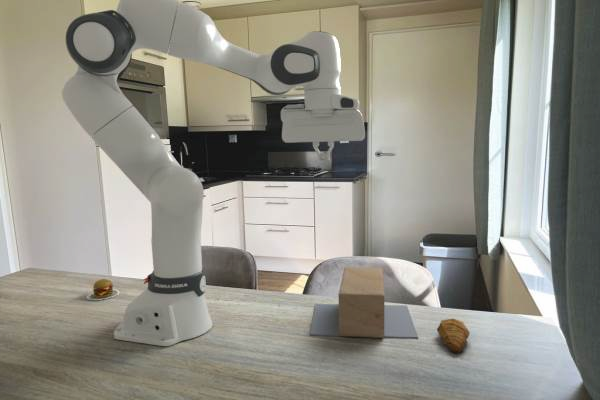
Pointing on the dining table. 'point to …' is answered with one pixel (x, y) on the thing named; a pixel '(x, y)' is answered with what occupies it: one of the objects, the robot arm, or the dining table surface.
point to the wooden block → (361, 303)
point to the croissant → (453, 334)
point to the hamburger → (103, 289)
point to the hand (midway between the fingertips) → (323, 160)
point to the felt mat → (328, 325)
